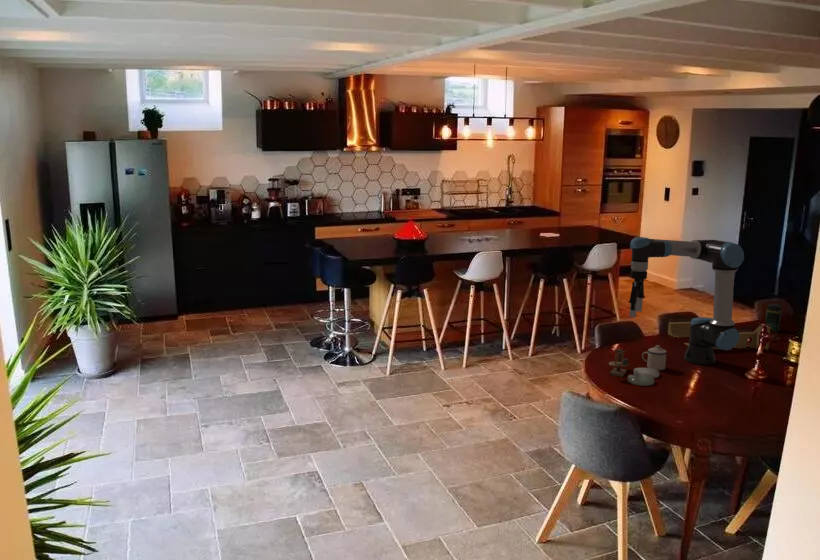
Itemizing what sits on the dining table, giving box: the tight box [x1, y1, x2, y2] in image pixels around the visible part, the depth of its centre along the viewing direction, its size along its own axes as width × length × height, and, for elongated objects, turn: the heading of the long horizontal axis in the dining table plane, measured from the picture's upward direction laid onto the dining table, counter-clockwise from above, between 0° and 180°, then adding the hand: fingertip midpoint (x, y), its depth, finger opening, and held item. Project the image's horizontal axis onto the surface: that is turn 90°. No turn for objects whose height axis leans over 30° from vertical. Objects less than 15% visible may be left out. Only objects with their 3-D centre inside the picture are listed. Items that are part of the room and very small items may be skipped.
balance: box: [608, 348, 630, 378], centre depth 335 cm, size 21×6×14 cm, turn 150°
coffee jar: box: [764, 302, 783, 333], centre depth 418 cm, size 10×8×19 cm
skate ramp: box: [667, 317, 771, 352], centre depth 392 cm, size 40×35×16 cm
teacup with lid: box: [641, 344, 668, 371], centre depth 347 cm, size 12×9×12 cm
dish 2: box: [627, 374, 655, 387], centre depth 324 cm, size 12×12×2 cm
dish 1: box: [633, 367, 661, 379], centre depth 336 cm, size 12×12×2 cm
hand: (635, 314), depth 328 cm, fingers open, 13 cm apart
